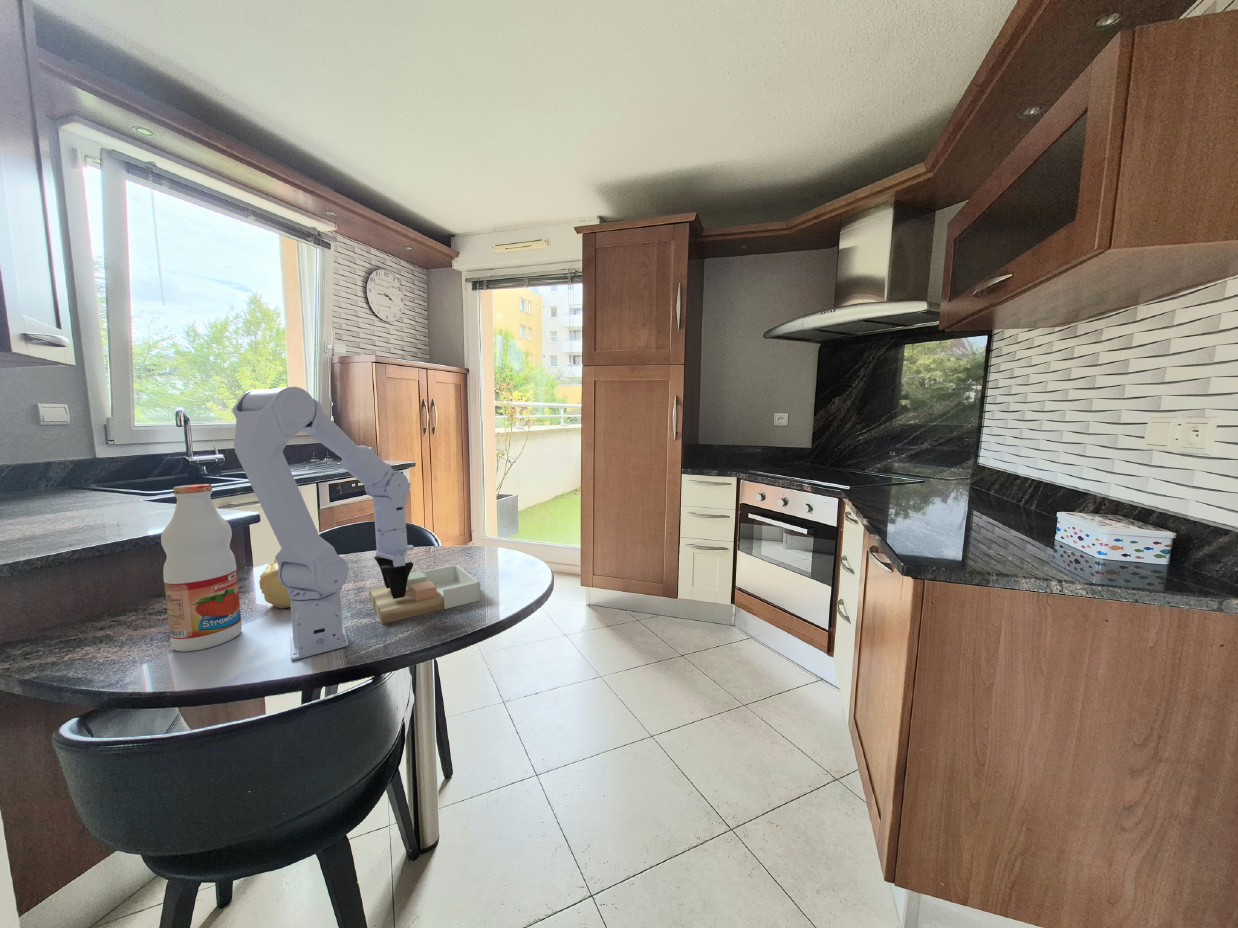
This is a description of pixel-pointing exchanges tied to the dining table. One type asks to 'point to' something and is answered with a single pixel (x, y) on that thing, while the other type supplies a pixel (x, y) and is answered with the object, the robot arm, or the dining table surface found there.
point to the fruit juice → (199, 573)
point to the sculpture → (274, 587)
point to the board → (401, 604)
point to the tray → (454, 585)
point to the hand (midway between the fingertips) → (395, 592)
